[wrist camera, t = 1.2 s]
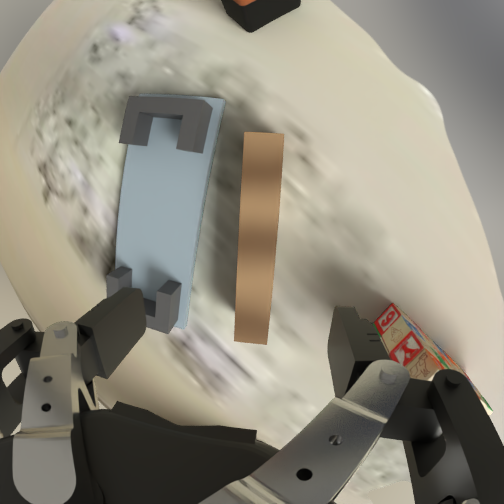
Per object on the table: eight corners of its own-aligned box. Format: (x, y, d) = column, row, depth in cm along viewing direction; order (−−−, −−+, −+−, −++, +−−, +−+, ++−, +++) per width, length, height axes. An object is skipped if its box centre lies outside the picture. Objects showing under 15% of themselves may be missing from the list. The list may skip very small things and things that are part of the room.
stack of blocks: (467, 373, 29) (502, 426, 17) (437, 401, 30) (465, 458, 19) (391, 301, 27) (440, 369, 15) (352, 341, 29) (379, 421, 17)
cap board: (186, 325, 30) (174, 344, 27) (119, 303, 31) (102, 318, 27) (225, 101, 24) (215, 89, 20) (144, 95, 24) (124, 86, 20)
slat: (269, 318, 29) (266, 344, 24) (241, 315, 30) (234, 341, 25) (283, 141, 24) (284, 133, 20) (251, 139, 25) (244, 131, 20)
